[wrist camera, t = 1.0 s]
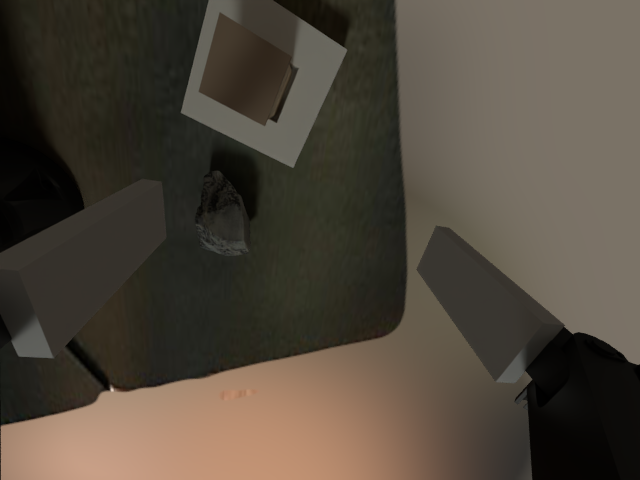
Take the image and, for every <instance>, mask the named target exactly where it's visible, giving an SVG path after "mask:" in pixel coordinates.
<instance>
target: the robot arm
mask: <svg viewBox="0 0 640 480" xmlns="http://www.w3.org/2000/svg"><path fill="white" fill-rule="evenodd" d="M165 238H166V228H165V215H164V203H163V191H162V182H159V181H153V180H147V179H141V180H139V181H137V182H136V183H134V184H132V185H130V186H128V187H126V188H124V189H122V190H120V191H118V192H116V193H114V194H112V195H111V196H109V197H107V198H105V199H103V200H101V201H99V202H97V203H95V204H93V205H91V206H89V207H87V208H86V209H83V203H82V200H81V197H80V194H79V192H78V190H77V188H76V187H75V185H74V184H73V182H72V181H71V179H70V178H69V177H68V176H67V174H66V173H65V172H64V171H63V170H62V169H61V168H60V167H59V166H58V165H56V164H55V163H54V162H53V161H52V160H50V159H49V158H48V157H46V156H45V155H43V154H42V153H40V152H38V151H36V150H35V149H33V148H31V147H29V146H26V145H24V144H21V143H19V142H16V141H12V140H9V139H4V138H0V348H2V347H3V346H4V345H5V344H6V343H8V342H9V341H10V340H11V341H12V344H13V346H14V348H15V350H16V352H17V354H18V356H23V357H41V358H54V357H55V356H56V355H57V354H58V353H59V352H60V351H61V350H62V349H63V347H64V346H65V345H66V344H67V343H68V342H69V341H70V340H71V339H72V338H73V337H74V336H75V335H76V334H77V333H78V331H79V330H80V329H81V328H82V327H83V326H84V325H85V324H86V323H87V322H88V321H89V320H90V319H91V318H92V316H93V315H94V314H95V313H96V312H97V311H98V310H99V309H100V308H101V307H102V306H103V305H104V304H105V303H106V302H107V300H108V299H109V298H110V297H111V296H112V295H113V294H114V293H115V292H116V291H117V290H118V289H119V288H120V287H121V285H122V284H123V283H124V282H125V281H126V280H127V279H128V278H129V277H130V276H131V275H132V274H133V273H134V272H135V271H136V269H137V268H138V267H139V266H140V265H141V264H142V263H143V262H144V261H145V260H146V259H147V258H148V257H149V256H150V254H151V253H152V252H153V251H154V250H155V249H156V248H157V247H158V246H159V245H160V244H161V243H162V242H163V241H164V240H165ZM417 271H418V272H419V274H420V275H421V277H422V278H423V279H424V281H425V282H426V284H427V285H428V286H429V288H430V289H431V291H432V292H433V294H434V295H435V296H436V298H437V299H438V301H439V302H440V304H441V305H442V306H443V308H444V309H445V311H446V312H447V313H448V315H449V316H450V318H451V319H452V321H453V322H454V323H455V325H456V326H457V327H458V329H459V330H460V332H461V333H462V335H463V336H464V338H465V339H466V340H467V342H468V343H469V344H470V346H471V348H472V349H473V350H474V352H475V353H476V355H477V356H478V357H479V359H480V360H481V362H482V363H483V365H484V366H485V367H486V369H487V370H488V372H489V373H490V374H491V376H492V377H493V379H494V380H495V381H496V382H507V383H515V382H516V381H517V380H518V379H519V378H520V377H521V375H522V374H523V373H524V372H525V371H526V372H527V373H528V374H529V375H530V377H531V378H532V379H533V380H532V381H531V382H530V383H529V384H528V385H527V386H526V387H525V388H524V389H523V391H522V392H521V393H520V394H519V395H518V396H517V397H516V399H515V403H517V404H519V403H520V402H521V401H522V400H527V401H528V403H527V404H526V405H525V406H524V408H525V409H527V410H528V416H529V433H530V449H531V466H532V480H640V365H636V364H633V363H630V362H628V360H627V359H626V358H625V357H624V355H623V354H622V353H620V352H618V351H617V350H616V349H615V348H613V347H611V346H610V345H609V344H607V343H606V342H604V341H602V340H599V339H598V338H596V337H593V336H591V335H588V334H585V333H580V332H578V333H574V334H572V333H571V332H569V331H568V330H567V329H566V328H565V327H564V326H565V325H564V324H563V323H561V322H560V321H559V320H558V319H557V318H556V317H555V316H553V315H552V314H551V313H550V312H549V311H547V310H546V309H545V308H544V307H543V306H541V305H540V304H539V303H538V302H537V301H536V300H534V299H533V298H532V297H531V296H530V295H528V294H527V293H526V292H525V291H524V290H522V289H521V288H520V287H519V286H518V285H517V284H515V283H514V282H513V281H512V280H511V279H509V278H508V277H507V276H506V275H505V274H503V273H502V272H501V271H500V270H499V269H497V268H496V267H495V266H494V265H493V264H492V263H490V262H489V261H488V260H487V259H486V258H484V257H483V256H482V255H481V254H480V253H479V252H477V251H476V250H475V249H474V248H473V247H471V246H470V245H469V244H468V243H467V242H465V241H464V240H463V239H462V238H461V237H460V236H458V235H457V234H456V233H455V232H453V231H452V230H451V229H450V228H446V227H440V226H436V227H435V230H434V232H433V234H432V236H431V238H430V241H429V243H428V245H427V248H426V250H425V252H424V254H423V256H422V258H421V261H420V263H419V265H418V267H417ZM0 428H1V402H0ZM0 431H1V429H0ZM0 435H1V432H0ZM0 437H1V436H0ZM0 480H1V438H0Z"/></svg>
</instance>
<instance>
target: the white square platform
mask: <svg viewBox="0 0 640 480" xmlns="http://www.w3.org/2000/svg"><path fill="white" fill-rule="evenodd" d="M220 12H221V13H222V14H224V15H225V16H227V17H229V18H230V19H232V20H233V21H235V22H237V23H238V24H240V25H242V26H243V27H245V28H246V29H248V30H250V31H251V32H253V33H255V34H256V35H258V36H259V37H261V38H263V39H264V40H266V41H267V42H269V43H271V44H272V45H274V46H276V47H277V48H279V49H280V50H282V51H284V52H285V53H287V54H289V55H290V56H291V57H292V58H291V61H290V63H289V64H290V67H291V70H292V76H291V79H290V81H289V84H288V86H287V89H286V91H285V94H284V96H283V99H282V101H281V104H280V106H279V109H278V111H277V114H276V115H275V116H273V117H271V118H270V119H268V120H267V123H266V125H265V126H263V125H261V124H259V123H257V122H255V121H253V120H252V119H250V118H248V117H246V116H244V115H242V114H240V113H238V112H236V111H234V110H232V109H230V108H229V107H227V106H225V105H223V104H221V103H219V102H217V101H215V100H213V99H211V98H209V97H207V96H206V95H204V94H202V93H200V92H199V88H200V84H201V80H202V77H203V73H204V69H205V65H206V62H207V58H208V54H209V50H210V47H211V43H212V39H213V35H214V32H215V28H216V24H217V20H218V17H219V13H220ZM346 52H347V49H345V48H344V47H342V46H341V45H339V44H338V43H336V42H335V41H333V40H332V39H330V38H329V37H327V36H326V35H324V34H323V33H321V32H320V31H318V30H317V29H315V28H314V27H312V26H311V25H309V24H308V23H306V22H305V21H303V20H302V19H300V18H299V17H297V16H296V15H294V14H293V13H291V12H290V11H288V10H287V9H285V8H284V7H282V6H281V5H279V4H278V3H276V2H275V1H273V0H209V2H208V6H207V10H206V14H205V18H204V22H203V26H202V30H201V34H200V38H199V42H198V46H197V50H196V54H195V58H194V62H193V66H192V70H191V74H190V78H189V82H188V86H187V90H186V94H185V98H184V102H183V106H182V110H181V113H182V114H184V115H187V116H189V117H191V118H193V119H195V120H197V121H199V122H201V123H203V124H205V125H207V126H209V127H211V128H213V129H215V130H217V131H219V132H221V133H223V134H225V135H227V136H229V137H231V138H233V139H235V140H237V141H239V142H241V143H243V144H245V145H248V146H250V147H252V148H254V149H256V150H258V151H260V152H262V153H264V154H266V155H268V156H270V157H272V158H274V159H276V160H278V161H280V162H282V163H284V164H286V165H288V166H290V167H292V168H293V167H294V165H295V163H296V160H297V158H298V156H299V154H300V152H301V150H302V147H303V145H304V143H305V141H306V139H307V137H308V134H309V132H310V130H311V128H312V126H313V123H314V121H315V119H316V117H317V115H318V113H319V110H320V108H321V106H322V104H323V102H324V100H325V97H326V95H327V93H328V91H329V89H330V86H331V84H332V82H333V80H334V78H335V76H336V73H337V71H338V69H339V67H340V65H341V63H342V60H343V58H344V56H345V54H346Z"/></svg>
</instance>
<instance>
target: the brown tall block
mask: <svg viewBox="0 0 640 480" xmlns="http://www.w3.org/2000/svg"><path fill="white" fill-rule="evenodd" d="M291 58H292V57H291V56H290V55H289V54H287V53H285V52H284V51H282V50H280V49H279V48H277V47H276V46H274V45H272V44H271V43H269V42H267V41H266V40H264V39H263V38H261V37H259V36H258V35H256V34H255V33H253V32H251V31H250V30H248V29H246V28H245V27H243V26H242V25H240V24H238V23H237V22H235V21H233V20H232V19H230V18H229V17H227V16H225V15H224V14H222V13H221V12H220V13H219V17H218V20H217V24H216V28H215V32H214V35H213V39H212V43H211V47H210V50H209V54H208V58H207V62H206V65H205V69H204V73H203V77H202V80H201V84H200V88H199V92H200V93H202V94H204V95H206V96H207V97H209V98H211V99H213V100H215V101H217V102H219V103H221V104H223V105H225V106H227V107H229V108H230V109H232V110H234V111H236V112H238V113H240V114H242V115H244V116H246V117H248V118H250V119H252V120H253V121H255V122H257V123H259V124H261V125H263V126H265V125H266V123H267V120H268V119H270V118H271V117H273V116H275V115H276V114H277V111H278V109H279V106H280V104H281V101H282V99H283V96H284V94H285V91H286V89H287V86H288V84H289V81H290V79H291V76H292V70H291V67H290V64H289V63H290V61H291Z"/></svg>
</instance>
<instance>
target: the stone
mask: <svg viewBox="0 0 640 480" xmlns="http://www.w3.org/2000/svg"><path fill="white" fill-rule="evenodd" d="M195 223H196V227H197V234H198V238H199V239H200V248H203V249H206V250H210V251H215V252H217V253H219V254H223V255H226V256H234V255H241V254H247V253H248V250H249V249H250V244H251V242H250V230H249V228H250V221H249V218H248V216H247V213H246V210H245V207H244V204H243V200H242V197H241V195H239V194H238V193H237V191H236V190H235V188H234V187H233V185H232V184H231V183H230V182H229V181H228V180H227V179H226V177H225V176H224V175H223V174H222V173H221V172H220V171H212V172H210V173H208V174H207V175H205V176H204V188H203V190H202V195H201V205H200V206H199V208H198V209H197V213H196V217H195Z"/></svg>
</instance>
